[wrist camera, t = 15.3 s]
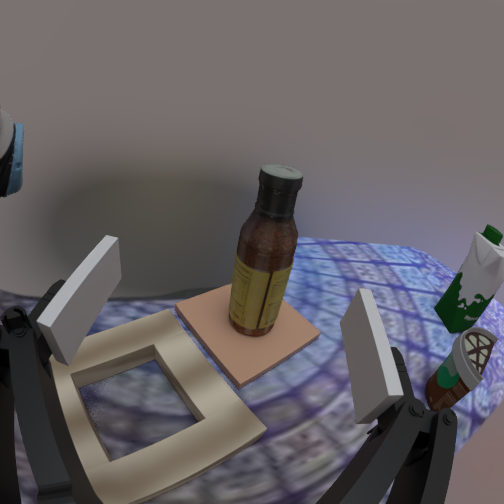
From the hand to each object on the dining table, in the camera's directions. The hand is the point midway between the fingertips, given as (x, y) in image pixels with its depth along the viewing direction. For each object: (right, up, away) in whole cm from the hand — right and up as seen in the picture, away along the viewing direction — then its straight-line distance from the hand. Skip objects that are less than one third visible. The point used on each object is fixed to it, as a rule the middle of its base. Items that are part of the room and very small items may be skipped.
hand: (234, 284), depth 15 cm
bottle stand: (-11, -14, +9) cm, 20 cm away
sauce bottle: (+1, -7, +22) cm, 23 cm away
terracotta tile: (0, -8, +22) cm, 24 cm away
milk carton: (+41, -12, +31) cm, 53 cm away
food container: (+28, -18, +17) cm, 37 cm away
